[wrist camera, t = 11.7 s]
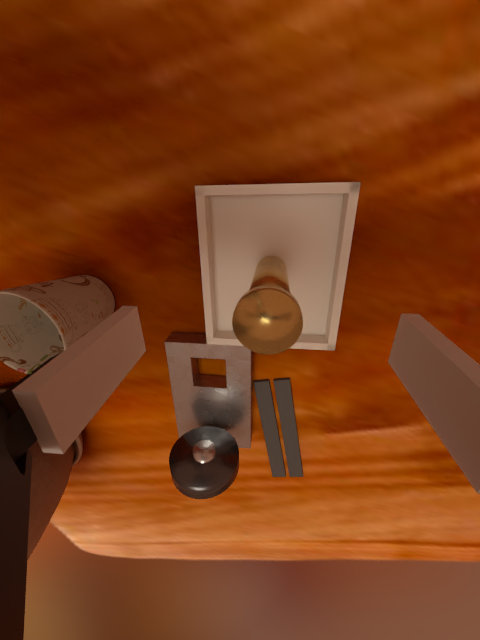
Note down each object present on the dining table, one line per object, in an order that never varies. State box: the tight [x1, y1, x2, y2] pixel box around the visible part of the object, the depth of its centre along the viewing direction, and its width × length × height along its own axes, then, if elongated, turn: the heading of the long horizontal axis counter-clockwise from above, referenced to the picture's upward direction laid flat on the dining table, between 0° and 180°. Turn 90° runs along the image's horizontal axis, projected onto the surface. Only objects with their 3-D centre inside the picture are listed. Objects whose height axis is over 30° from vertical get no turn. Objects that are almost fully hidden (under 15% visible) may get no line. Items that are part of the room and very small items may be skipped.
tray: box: [195, 182, 361, 351], centre depth 27 cm, size 16×14×2 cm
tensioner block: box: [165, 332, 253, 499], centre depth 30 cm, size 16×10×11 cm, turn 1°
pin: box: [232, 256, 303, 354], centre depth 21 cm, size 4×4×13 cm
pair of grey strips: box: [253, 378, 303, 477], centre depth 37 cm, size 18×5×1 cm, turn 11°
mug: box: [0, 275, 115, 374], centre depth 29 cm, size 8×13×10 cm, turn 173°
